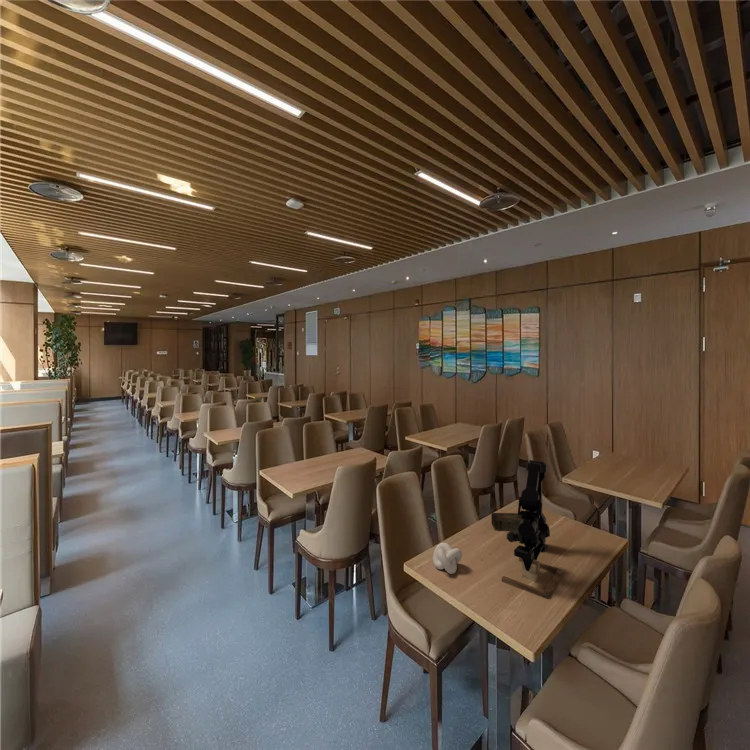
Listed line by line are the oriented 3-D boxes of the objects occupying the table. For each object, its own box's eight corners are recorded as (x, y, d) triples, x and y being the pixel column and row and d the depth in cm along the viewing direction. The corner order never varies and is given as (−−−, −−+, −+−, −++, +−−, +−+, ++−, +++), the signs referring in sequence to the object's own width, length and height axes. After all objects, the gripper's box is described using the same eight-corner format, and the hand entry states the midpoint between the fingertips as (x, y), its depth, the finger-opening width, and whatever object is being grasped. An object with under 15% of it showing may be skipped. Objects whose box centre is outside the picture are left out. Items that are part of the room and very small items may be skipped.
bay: (520, 559, 156) (520, 556, 156) (562, 573, 145) (562, 569, 145) (501, 581, 141) (501, 577, 141) (547, 598, 130) (547, 594, 130)
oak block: (526, 571, 147) (526, 557, 147) (539, 576, 144) (539, 561, 143) (521, 577, 143) (521, 562, 143) (535, 582, 140) (535, 566, 140)
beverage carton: (534, 531, 181) (533, 518, 181) (494, 531, 183) (494, 518, 182) (528, 524, 189) (528, 511, 189) (490, 524, 191) (490, 511, 190)
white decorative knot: (425, 568, 151) (425, 547, 151) (442, 557, 159) (442, 536, 159) (449, 579, 143) (448, 557, 143) (465, 567, 151) (465, 545, 151)
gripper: (517, 514, 155) (518, 550, 156) (500, 530, 141) (500, 570, 142) (545, 521, 148) (546, 559, 148) (530, 538, 134) (530, 580, 134)
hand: (530, 566), depth 143 cm, fingers open, 7 cm apart
